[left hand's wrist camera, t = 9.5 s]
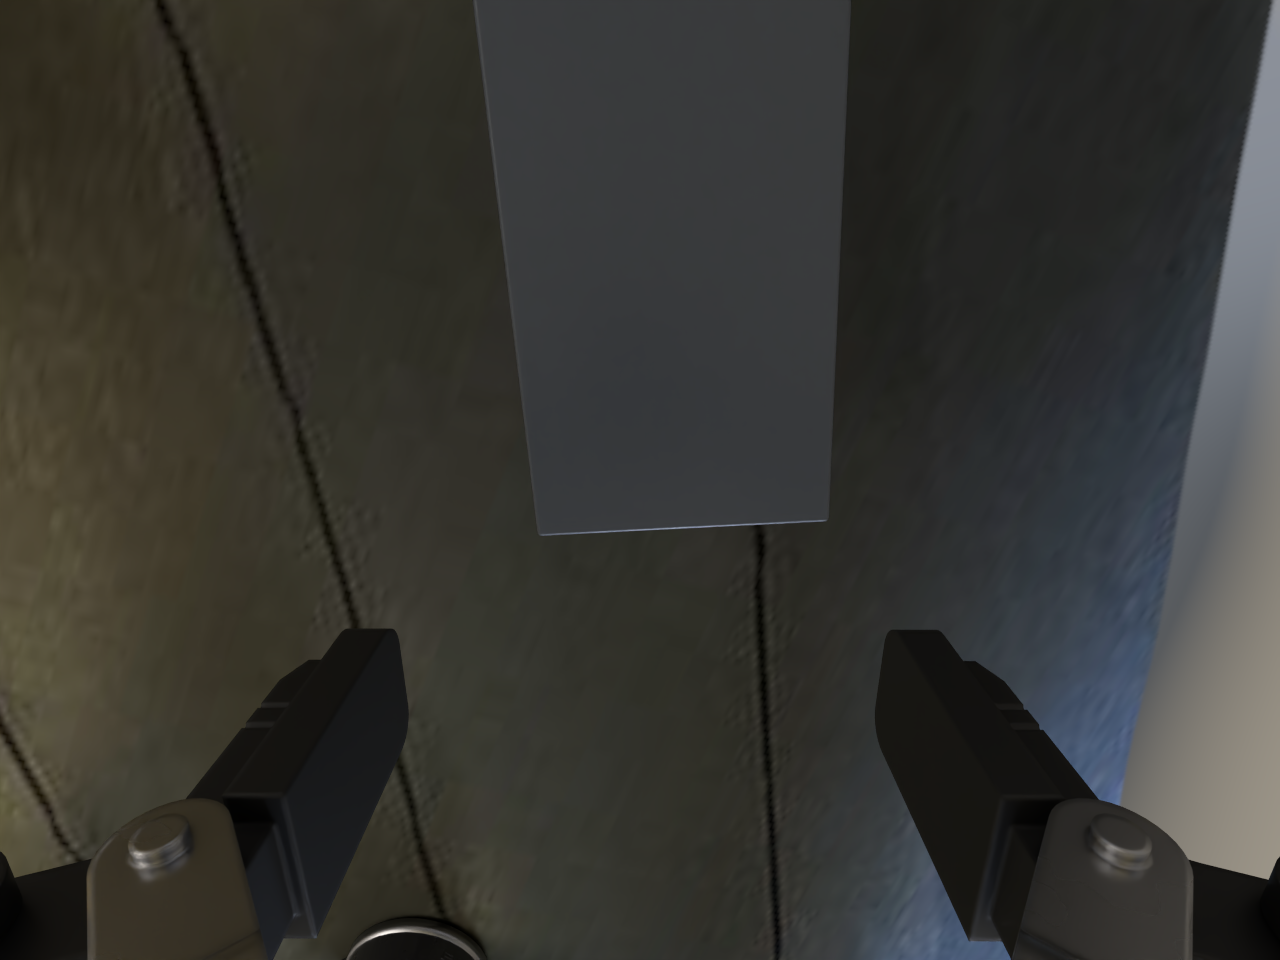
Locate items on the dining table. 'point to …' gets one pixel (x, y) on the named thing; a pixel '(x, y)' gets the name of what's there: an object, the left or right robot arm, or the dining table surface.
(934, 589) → the dining table surface
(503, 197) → the box
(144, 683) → the dining table surface
